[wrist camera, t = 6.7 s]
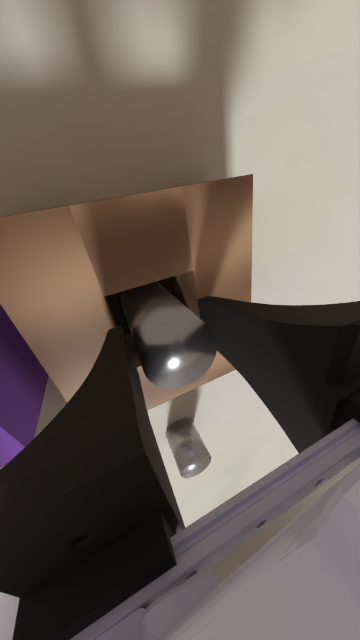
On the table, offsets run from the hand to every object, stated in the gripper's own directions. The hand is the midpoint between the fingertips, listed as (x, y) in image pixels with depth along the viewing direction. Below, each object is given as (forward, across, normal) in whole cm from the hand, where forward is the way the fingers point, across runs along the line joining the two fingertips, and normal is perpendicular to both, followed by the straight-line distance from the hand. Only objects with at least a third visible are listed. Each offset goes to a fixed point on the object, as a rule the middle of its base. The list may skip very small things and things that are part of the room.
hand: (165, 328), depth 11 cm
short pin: (+5, 0, +16) cm, 17 cm away
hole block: (+5, 0, 0) cm, 5 cm away
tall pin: (+5, 0, 0) cm, 5 cm away
